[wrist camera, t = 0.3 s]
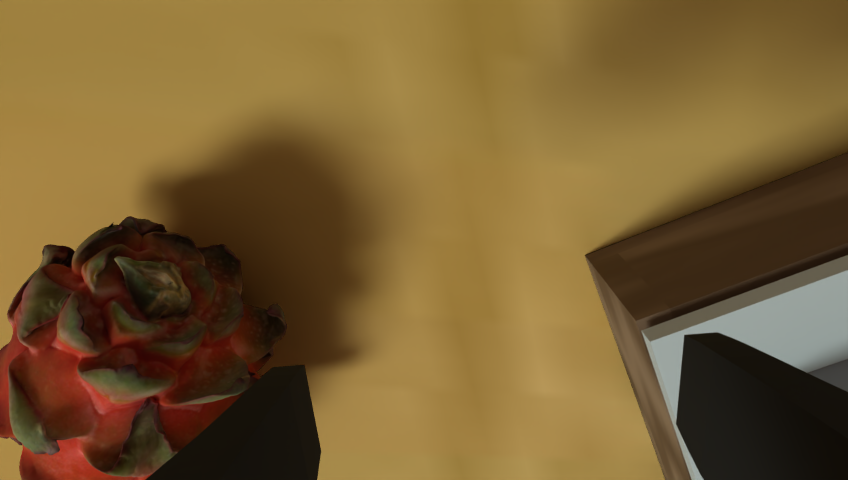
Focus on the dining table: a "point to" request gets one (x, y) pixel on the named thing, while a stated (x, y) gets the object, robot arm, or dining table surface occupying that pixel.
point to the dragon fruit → (127, 352)
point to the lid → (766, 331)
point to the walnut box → (715, 271)
